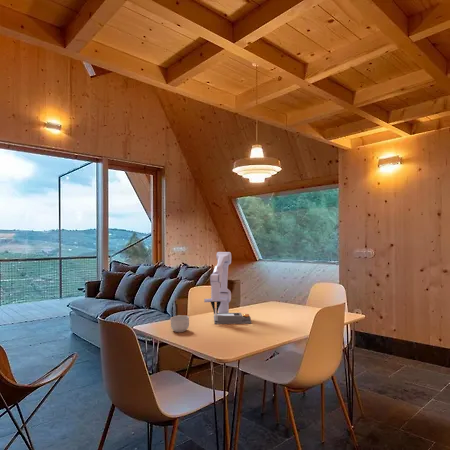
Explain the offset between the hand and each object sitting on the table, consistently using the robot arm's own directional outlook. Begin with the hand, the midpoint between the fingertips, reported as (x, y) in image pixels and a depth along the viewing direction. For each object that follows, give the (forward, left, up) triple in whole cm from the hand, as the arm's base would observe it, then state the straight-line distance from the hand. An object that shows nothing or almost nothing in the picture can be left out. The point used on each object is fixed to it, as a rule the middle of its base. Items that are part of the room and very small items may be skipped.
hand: (215, 313), depth 238 cm
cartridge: (0, +6, -4) cm, 7 cm away
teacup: (+20, -22, -6) cm, 30 cm away
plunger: (0, +20, -4) cm, 20 cm away
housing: (0, +11, -5) cm, 12 cm away
